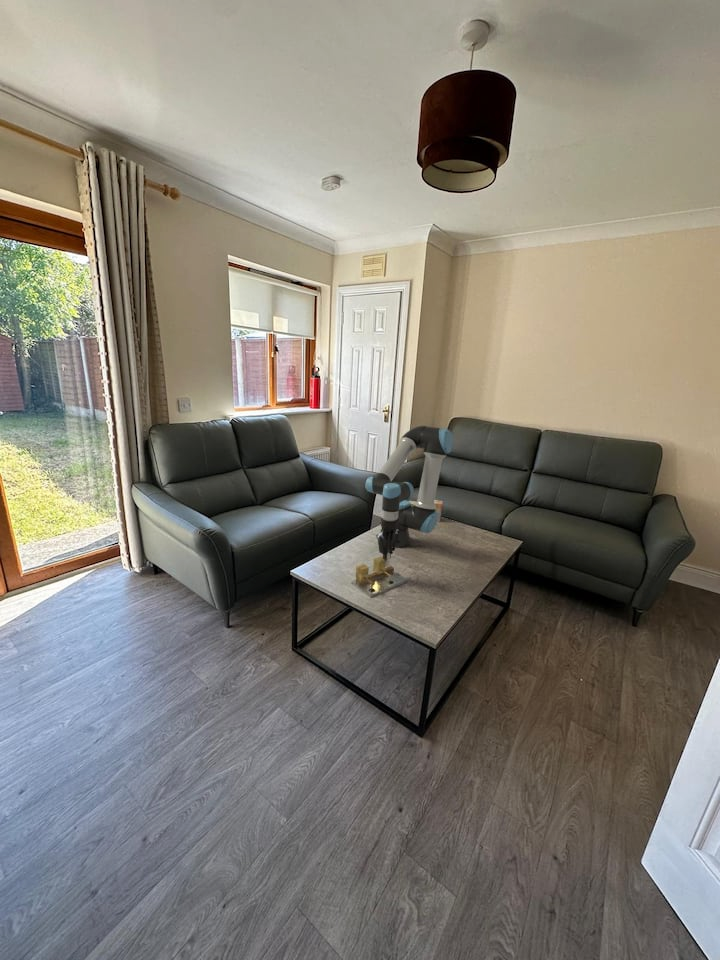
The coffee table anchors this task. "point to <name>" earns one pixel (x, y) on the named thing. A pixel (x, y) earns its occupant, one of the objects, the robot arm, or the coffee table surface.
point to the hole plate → (380, 584)
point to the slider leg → (380, 566)
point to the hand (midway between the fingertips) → (386, 565)
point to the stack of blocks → (437, 505)
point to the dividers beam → (364, 577)
